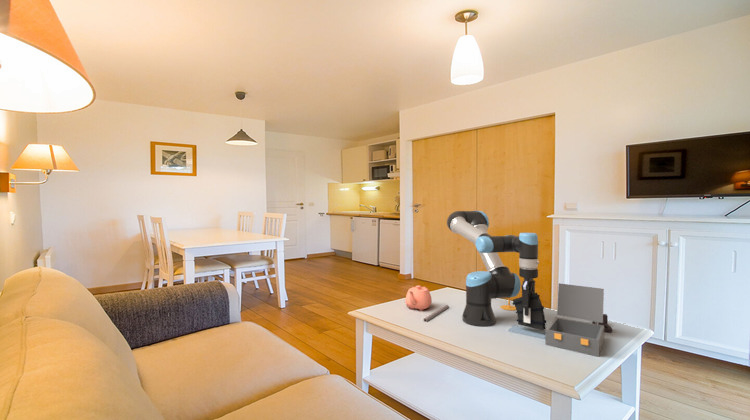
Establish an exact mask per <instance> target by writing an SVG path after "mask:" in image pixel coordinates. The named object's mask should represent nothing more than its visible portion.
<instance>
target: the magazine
mask: <svg viewBox="0 0 750 420" xmlns="http://www.w3.org/2000/svg"><path fill="white" fill-rule="evenodd" d="M540 297H541V296H540V294H539V293H538V292H535V293H533V294H531V295H530V308H531V323H525V322H524V308H523V307H521V306H522V296H520V297H518V298H514V299H512V306H515V307H516V310H515V314H517V319H516V322H517V326H521V327H526V328H531V329H535V330H540V331H545V330H546V324H547V320H546V317H545V311H544V309H545V306H543V305H542V301H541V298H540Z"/></svg>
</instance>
